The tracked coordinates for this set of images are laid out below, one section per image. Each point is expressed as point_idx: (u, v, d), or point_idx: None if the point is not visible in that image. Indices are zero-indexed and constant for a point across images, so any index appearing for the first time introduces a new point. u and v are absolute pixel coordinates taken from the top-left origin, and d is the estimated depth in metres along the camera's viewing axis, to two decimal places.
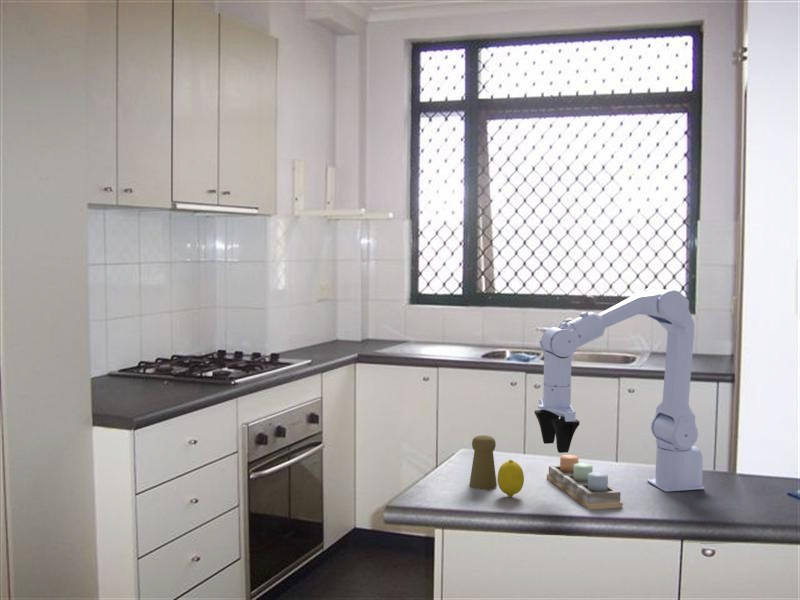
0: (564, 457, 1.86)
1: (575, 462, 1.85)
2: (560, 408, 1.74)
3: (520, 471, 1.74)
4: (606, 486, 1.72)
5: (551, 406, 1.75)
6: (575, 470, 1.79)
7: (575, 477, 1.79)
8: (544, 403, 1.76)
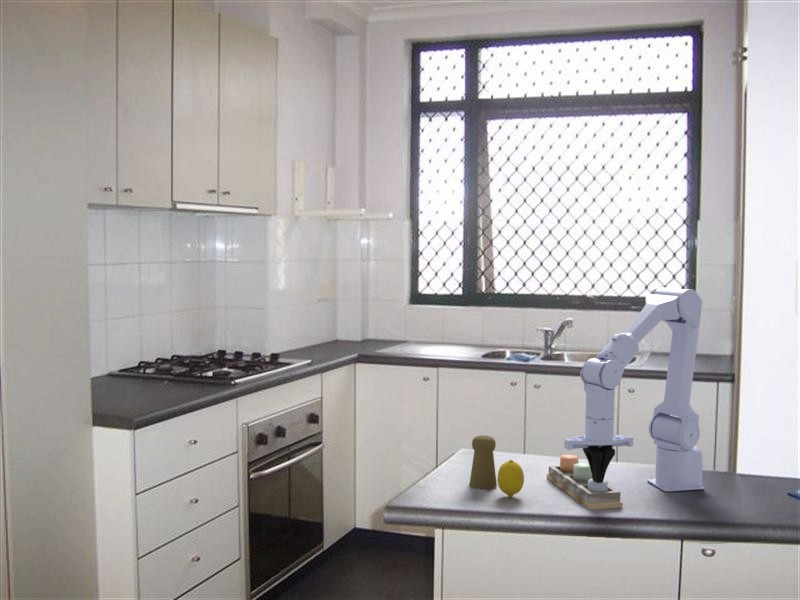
0: (564, 457, 1.86)
1: (575, 462, 1.85)
2: (585, 438, 1.72)
3: (520, 471, 1.74)
4: None
5: None
6: (575, 470, 1.79)
7: (575, 477, 1.79)
8: None
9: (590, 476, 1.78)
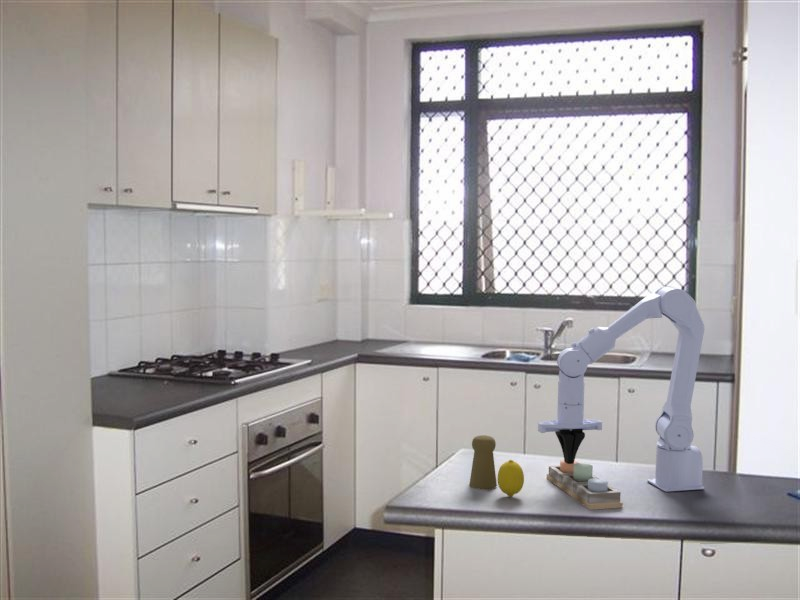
0: (564, 462, 1.86)
1: None
2: (557, 422, 1.86)
3: (520, 471, 1.74)
4: None
5: None
6: (575, 470, 1.79)
7: (575, 477, 1.79)
8: None
9: (590, 476, 1.78)
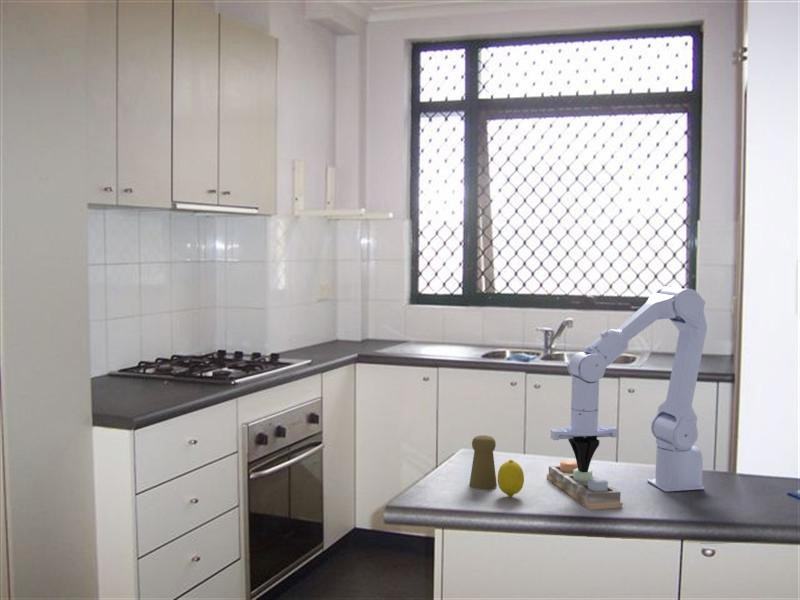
0: (564, 463, 1.86)
1: (575, 468, 1.85)
2: (571, 429, 1.79)
3: (520, 471, 1.74)
4: None
5: None
6: (575, 475, 1.79)
7: None
8: None
9: None
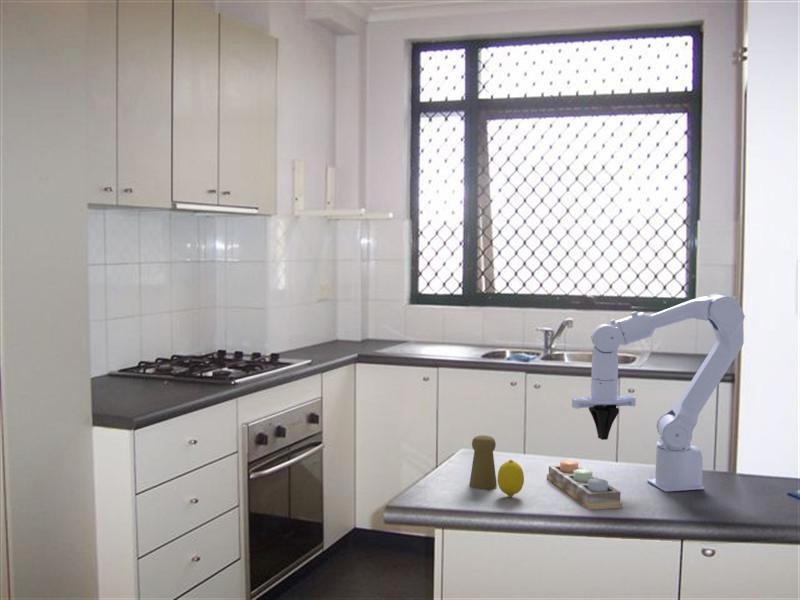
0: (564, 463, 1.86)
1: (575, 468, 1.85)
2: (591, 398, 1.86)
3: (520, 471, 1.74)
4: None
5: None
6: (575, 476, 1.79)
7: None
8: None
9: None
